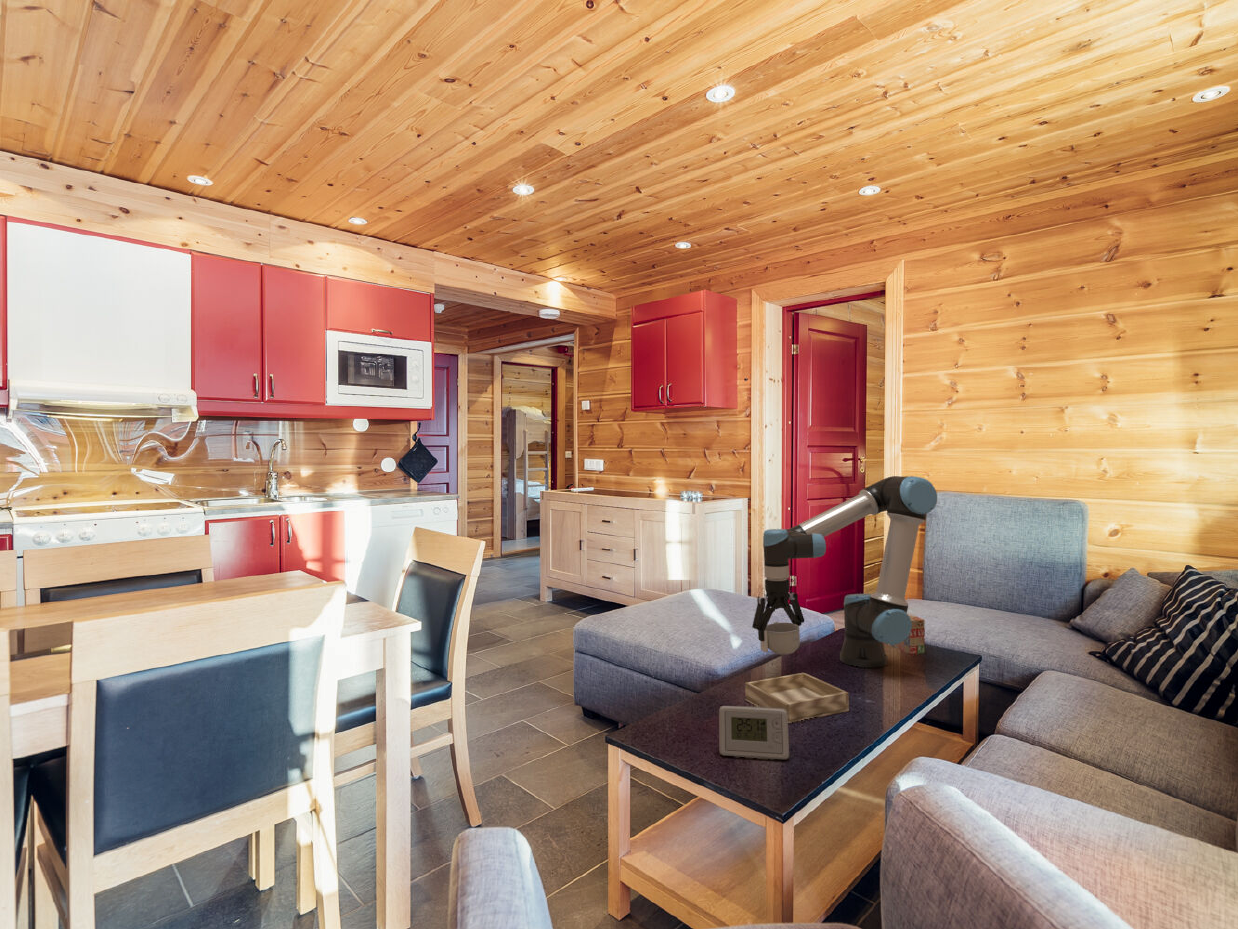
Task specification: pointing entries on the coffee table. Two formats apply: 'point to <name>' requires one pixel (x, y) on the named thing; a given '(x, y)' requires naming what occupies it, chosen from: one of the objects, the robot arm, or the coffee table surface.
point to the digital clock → (753, 732)
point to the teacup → (783, 637)
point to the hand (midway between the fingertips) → (779, 648)
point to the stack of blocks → (914, 637)
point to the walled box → (798, 696)
